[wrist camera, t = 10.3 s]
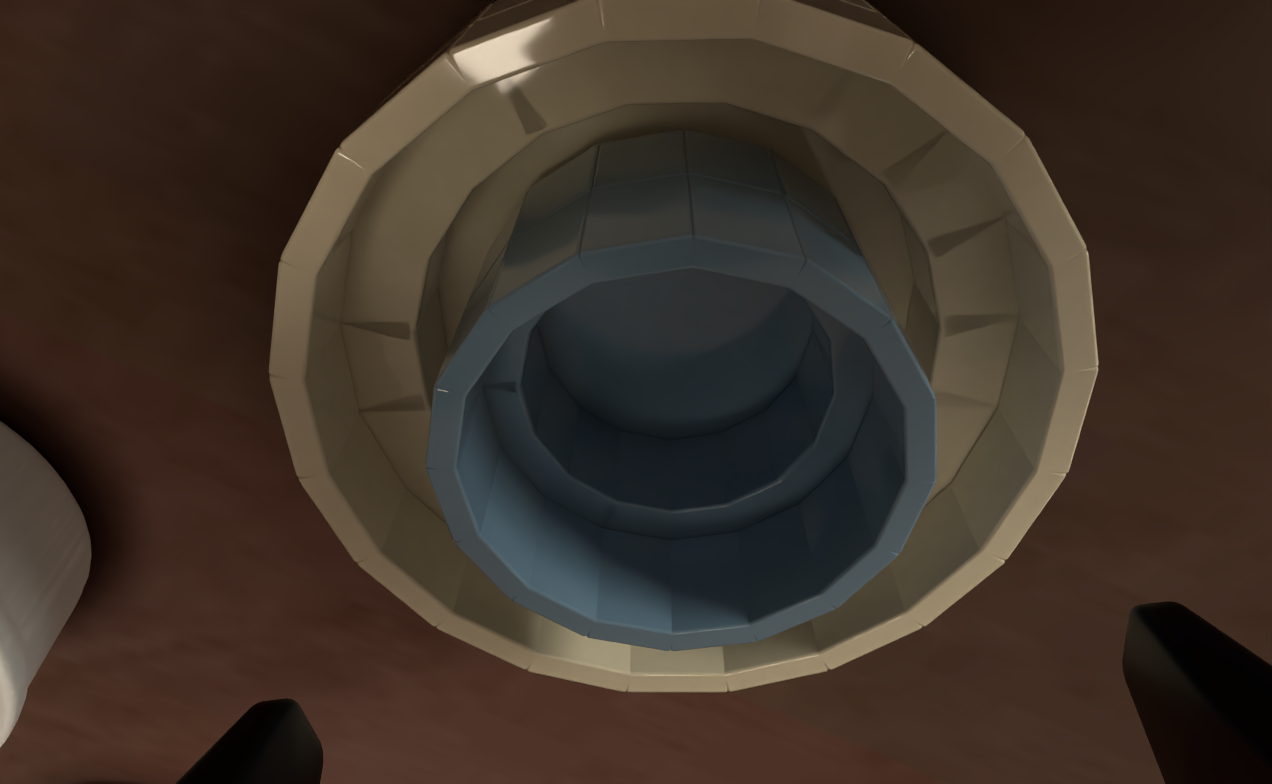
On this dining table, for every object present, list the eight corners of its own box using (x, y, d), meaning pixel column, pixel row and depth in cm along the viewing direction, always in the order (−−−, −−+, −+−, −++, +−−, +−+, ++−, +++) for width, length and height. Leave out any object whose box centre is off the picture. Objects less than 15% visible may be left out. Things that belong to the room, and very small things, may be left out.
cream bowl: (578, -238, 13) (546, -263, 9) (1145, 231, 16) (1280, 342, 13) (251, 367, 18) (154, 499, 15) (729, 619, 22) (743, 773, 18)
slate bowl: (625, 34, 14) (611, 122, 10) (947, 271, 16) (1050, 426, 12) (418, 351, 17) (342, 520, 13) (710, 516, 19) (725, 707, 15)
